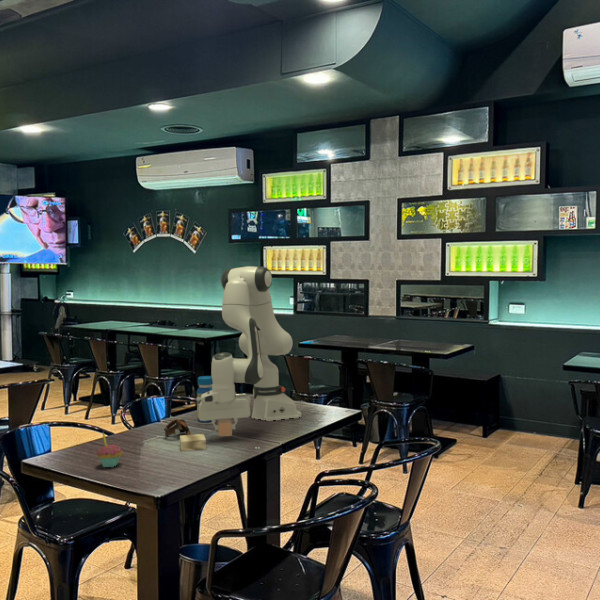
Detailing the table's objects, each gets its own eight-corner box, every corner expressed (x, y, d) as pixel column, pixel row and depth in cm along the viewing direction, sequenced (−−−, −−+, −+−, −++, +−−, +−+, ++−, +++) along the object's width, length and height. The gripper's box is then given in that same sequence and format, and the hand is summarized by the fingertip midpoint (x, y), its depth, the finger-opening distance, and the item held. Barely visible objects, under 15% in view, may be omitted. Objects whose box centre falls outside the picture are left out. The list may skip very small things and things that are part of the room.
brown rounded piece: (190, 441, 246) (178, 424, 244) (170, 451, 248) (158, 434, 246) (196, 426, 258) (185, 410, 256) (177, 435, 260) (166, 420, 258)
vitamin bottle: (220, 422, 273) (218, 377, 272) (202, 425, 269) (200, 379, 268) (211, 419, 280) (210, 374, 279) (193, 422, 276) (192, 376, 275)
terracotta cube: (231, 431, 248) (230, 419, 248) (232, 435, 243) (231, 422, 243) (218, 432, 247) (218, 420, 247) (219, 436, 243) (218, 423, 242)
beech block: (203, 443, 241) (203, 433, 241) (206, 450, 233) (205, 439, 233) (180, 446, 239) (179, 435, 239) (181, 452, 231) (181, 441, 230)
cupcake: (98, 470, 210) (97, 435, 209) (95, 464, 218) (94, 429, 217) (124, 467, 213) (123, 432, 213) (121, 460, 221) (120, 426, 221)
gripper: (249, 391, 249) (250, 425, 250) (197, 394, 246) (199, 429, 247) (251, 394, 243) (252, 429, 244) (197, 398, 240) (199, 434, 241)
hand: (225, 429), depth 245 cm, fingers closed on terracotta cube, 5 cm apart
